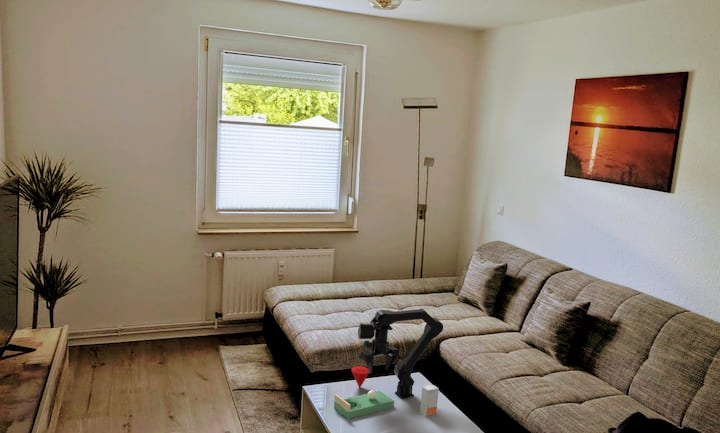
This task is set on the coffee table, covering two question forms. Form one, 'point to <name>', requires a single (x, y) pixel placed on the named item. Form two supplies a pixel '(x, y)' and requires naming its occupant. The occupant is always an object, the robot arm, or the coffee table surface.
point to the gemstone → (360, 374)
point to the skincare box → (429, 400)
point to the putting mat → (362, 404)
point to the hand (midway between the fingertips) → (378, 371)
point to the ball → (372, 394)
